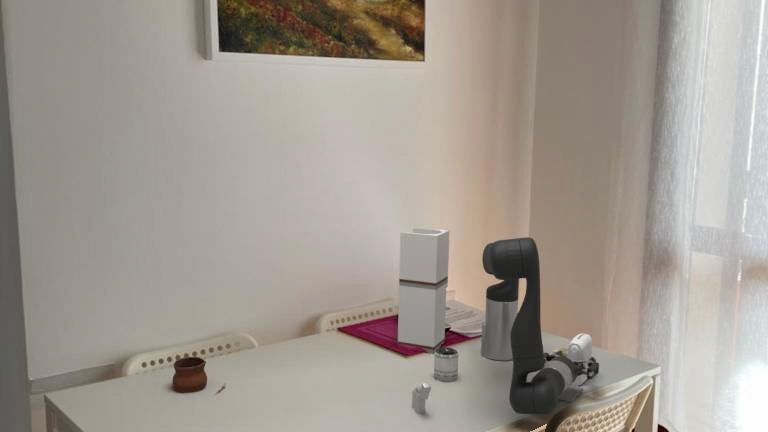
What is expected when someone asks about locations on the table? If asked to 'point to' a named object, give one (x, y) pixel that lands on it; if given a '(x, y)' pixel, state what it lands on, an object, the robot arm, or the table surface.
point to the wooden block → (564, 351)
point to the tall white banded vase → (423, 288)
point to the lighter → (420, 397)
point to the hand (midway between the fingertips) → (576, 357)
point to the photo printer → (580, 353)
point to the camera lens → (446, 364)
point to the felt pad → (570, 393)
